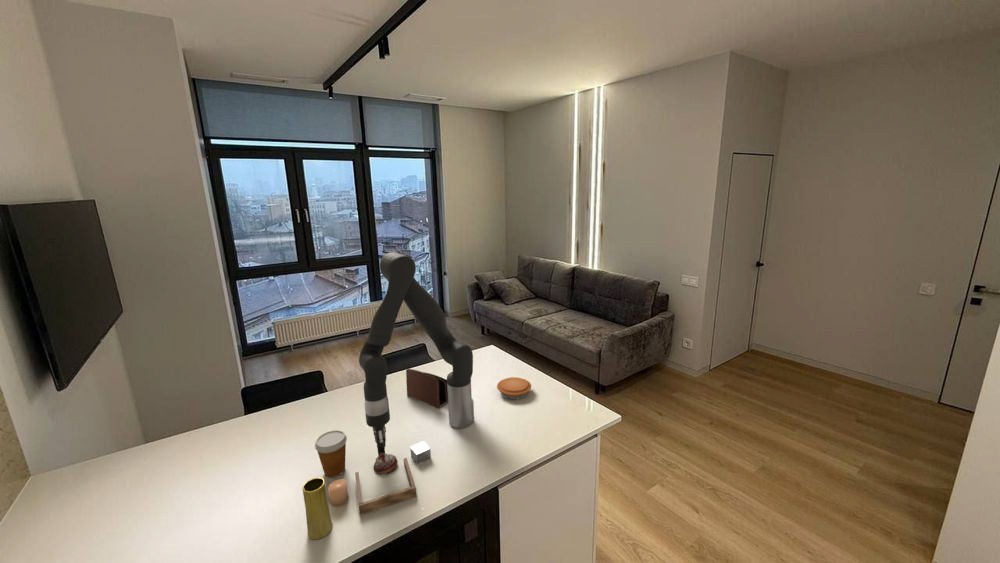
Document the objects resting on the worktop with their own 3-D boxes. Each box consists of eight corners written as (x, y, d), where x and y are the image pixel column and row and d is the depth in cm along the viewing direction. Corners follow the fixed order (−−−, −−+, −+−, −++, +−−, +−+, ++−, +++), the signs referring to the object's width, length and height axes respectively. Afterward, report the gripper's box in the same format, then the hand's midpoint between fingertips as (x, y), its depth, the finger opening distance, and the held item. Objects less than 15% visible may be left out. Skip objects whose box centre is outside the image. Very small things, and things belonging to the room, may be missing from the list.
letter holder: (438, 409, 158) (437, 378, 155) (406, 396, 169) (404, 367, 166) (454, 399, 166) (453, 369, 163) (423, 387, 177) (421, 359, 174)
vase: (313, 521, 104) (306, 476, 101) (336, 519, 104) (329, 475, 101) (303, 540, 98) (296, 494, 95) (328, 538, 98) (321, 492, 95)
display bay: (407, 465, 125) (406, 457, 124) (416, 496, 112) (415, 487, 111) (356, 480, 119) (355, 472, 118) (359, 515, 106) (358, 506, 105)
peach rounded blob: (348, 491, 114) (346, 477, 113) (349, 503, 110) (347, 488, 109) (330, 496, 112) (328, 482, 111) (330, 509, 108) (328, 494, 107)
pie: (532, 401, 162) (532, 391, 161) (496, 402, 163) (496, 391, 161) (530, 384, 177) (530, 374, 176) (497, 384, 178) (497, 375, 177)
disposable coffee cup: (339, 483, 118) (334, 449, 115) (312, 479, 120) (307, 446, 117) (356, 462, 127) (352, 430, 124) (331, 459, 129) (326, 427, 126)
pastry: (369, 466, 125) (368, 452, 124) (391, 455, 130) (389, 443, 129) (380, 479, 119) (378, 465, 118) (401, 467, 124) (400, 454, 123)
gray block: (424, 451, 132) (423, 441, 131) (430, 458, 128) (430, 448, 127) (411, 457, 129) (410, 447, 128) (417, 465, 125) (416, 454, 124)
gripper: (391, 416, 120) (395, 463, 124) (386, 396, 132) (390, 440, 136) (366, 422, 117) (371, 470, 121) (363, 401, 129) (368, 446, 133)
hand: (381, 454), depth 128 cm, fingers closed
